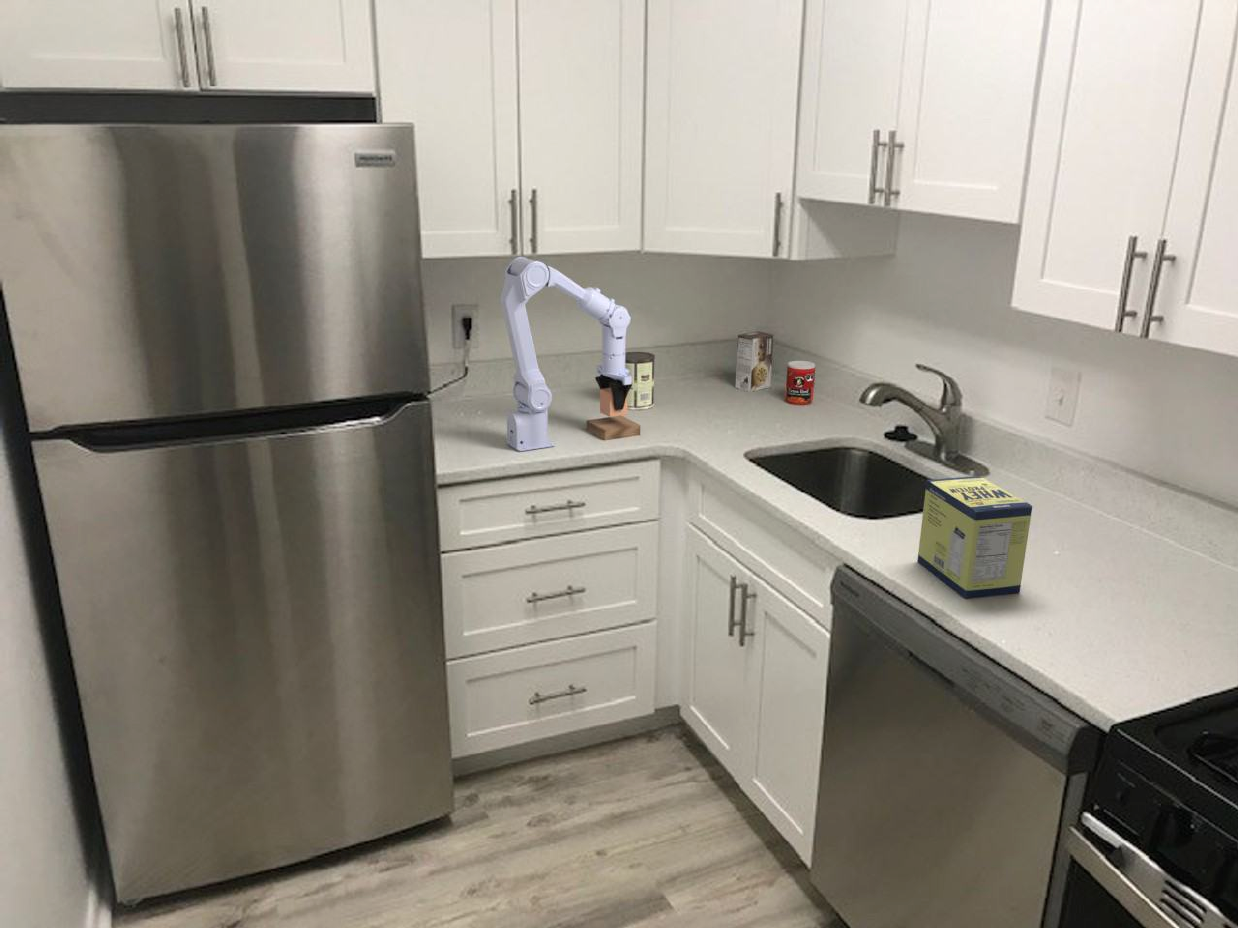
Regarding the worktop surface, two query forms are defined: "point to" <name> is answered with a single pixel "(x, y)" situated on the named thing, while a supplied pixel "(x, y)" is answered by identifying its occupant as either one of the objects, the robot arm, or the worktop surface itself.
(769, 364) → the brown white food box
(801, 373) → the canned food
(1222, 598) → the worktop surface
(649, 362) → the coffee can
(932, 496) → the protein box
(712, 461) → the worktop surface
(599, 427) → the walnut base
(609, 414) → the terracotta block
